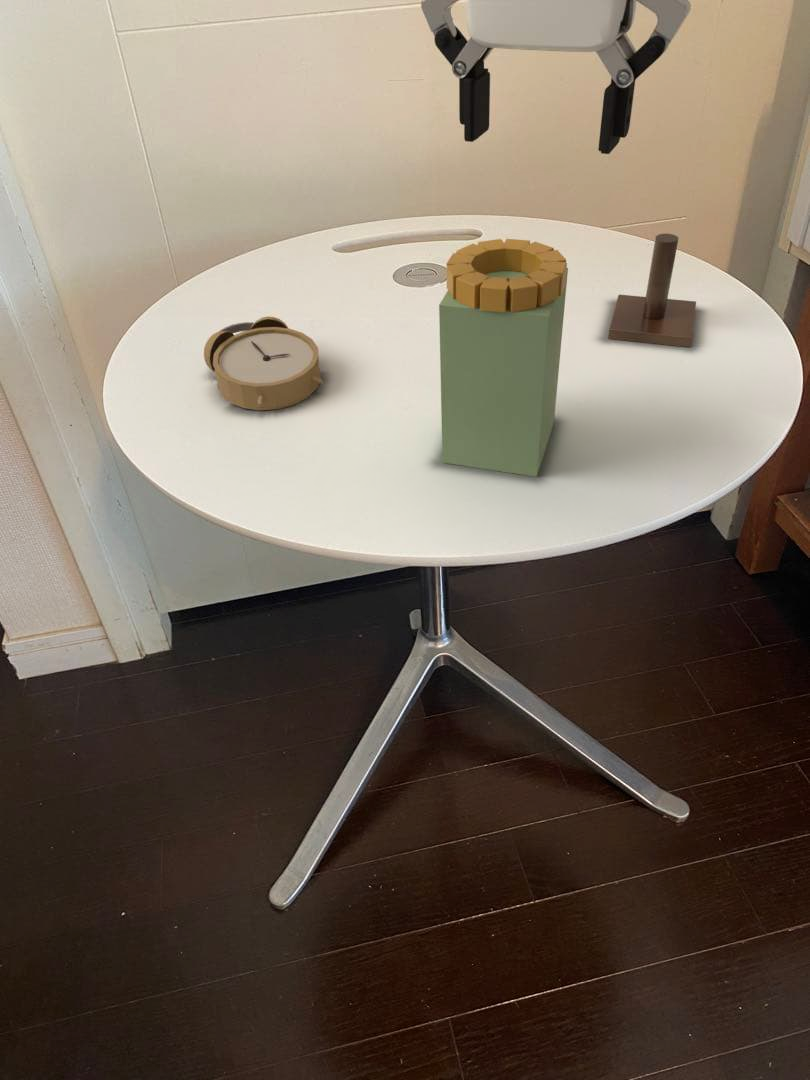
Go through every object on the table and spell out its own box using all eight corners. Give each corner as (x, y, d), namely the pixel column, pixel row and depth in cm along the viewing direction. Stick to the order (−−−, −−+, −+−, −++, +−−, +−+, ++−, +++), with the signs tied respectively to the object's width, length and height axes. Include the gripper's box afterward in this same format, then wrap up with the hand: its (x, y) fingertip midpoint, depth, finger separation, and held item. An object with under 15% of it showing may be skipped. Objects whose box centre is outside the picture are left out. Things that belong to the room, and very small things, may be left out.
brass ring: (572, 266, 70) (574, 243, 68) (552, 317, 63) (554, 293, 62) (464, 257, 72) (464, 235, 71) (434, 306, 65) (433, 282, 64)
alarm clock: (241, 401, 80) (181, 320, 88) (246, 436, 84) (188, 357, 92) (339, 365, 85) (273, 291, 92) (339, 401, 88) (277, 327, 96)
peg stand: (694, 310, 96) (712, 224, 89) (690, 347, 90) (708, 258, 83) (617, 303, 98) (628, 219, 91) (607, 338, 92) (619, 251, 85)
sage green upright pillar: (554, 422, 80) (568, 267, 69) (536, 477, 74) (549, 315, 63) (466, 411, 82) (466, 259, 72) (442, 462, 76) (438, 304, 65)
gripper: (732, -198, 44) (678, 136, 56) (444, -181, 51) (448, 117, 62) (707, -194, 40) (653, 171, 51) (391, -175, 46) (406, 147, 57)
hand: (541, 141), depth 57 cm, fingers open, 9 cm apart
